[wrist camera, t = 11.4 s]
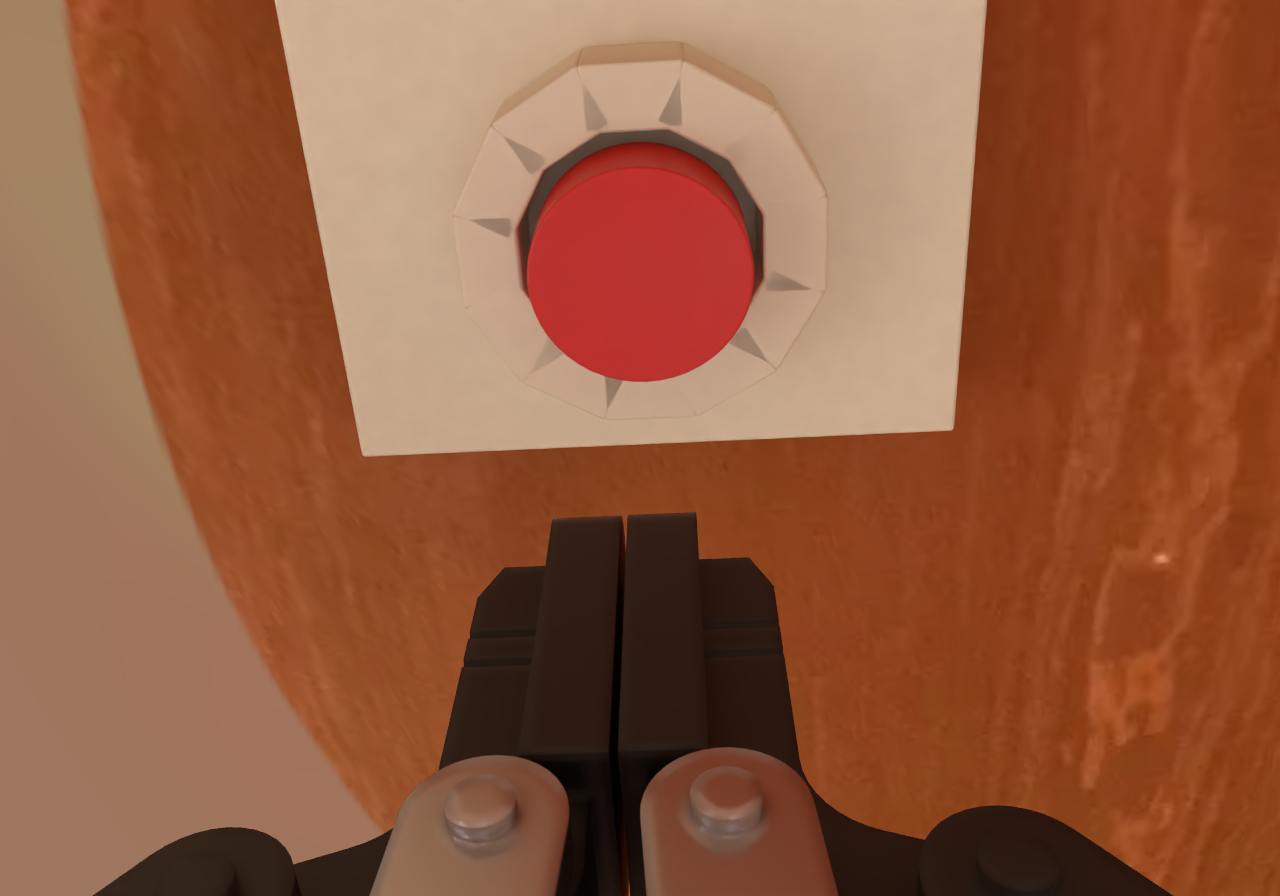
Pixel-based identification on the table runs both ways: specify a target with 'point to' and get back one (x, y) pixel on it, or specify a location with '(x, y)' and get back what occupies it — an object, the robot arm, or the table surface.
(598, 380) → the button box
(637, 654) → the robot arm
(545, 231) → the button
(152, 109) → the table surface
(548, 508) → the table surface
